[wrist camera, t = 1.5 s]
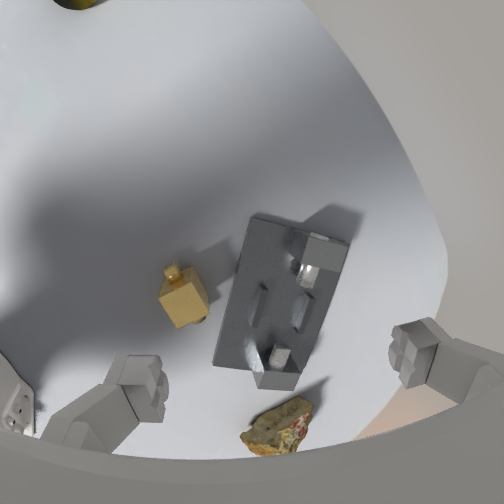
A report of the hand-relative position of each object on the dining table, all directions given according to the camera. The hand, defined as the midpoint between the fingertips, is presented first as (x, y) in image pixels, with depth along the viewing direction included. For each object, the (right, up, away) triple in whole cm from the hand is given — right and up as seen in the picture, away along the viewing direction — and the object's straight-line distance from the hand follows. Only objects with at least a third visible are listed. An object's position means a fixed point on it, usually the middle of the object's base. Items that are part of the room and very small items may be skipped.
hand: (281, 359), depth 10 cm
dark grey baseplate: (+2, -3, +29) cm, 29 cm away
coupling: (-9, -1, +26) cm, 28 cm away
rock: (+4, -24, +35) cm, 43 cm away
